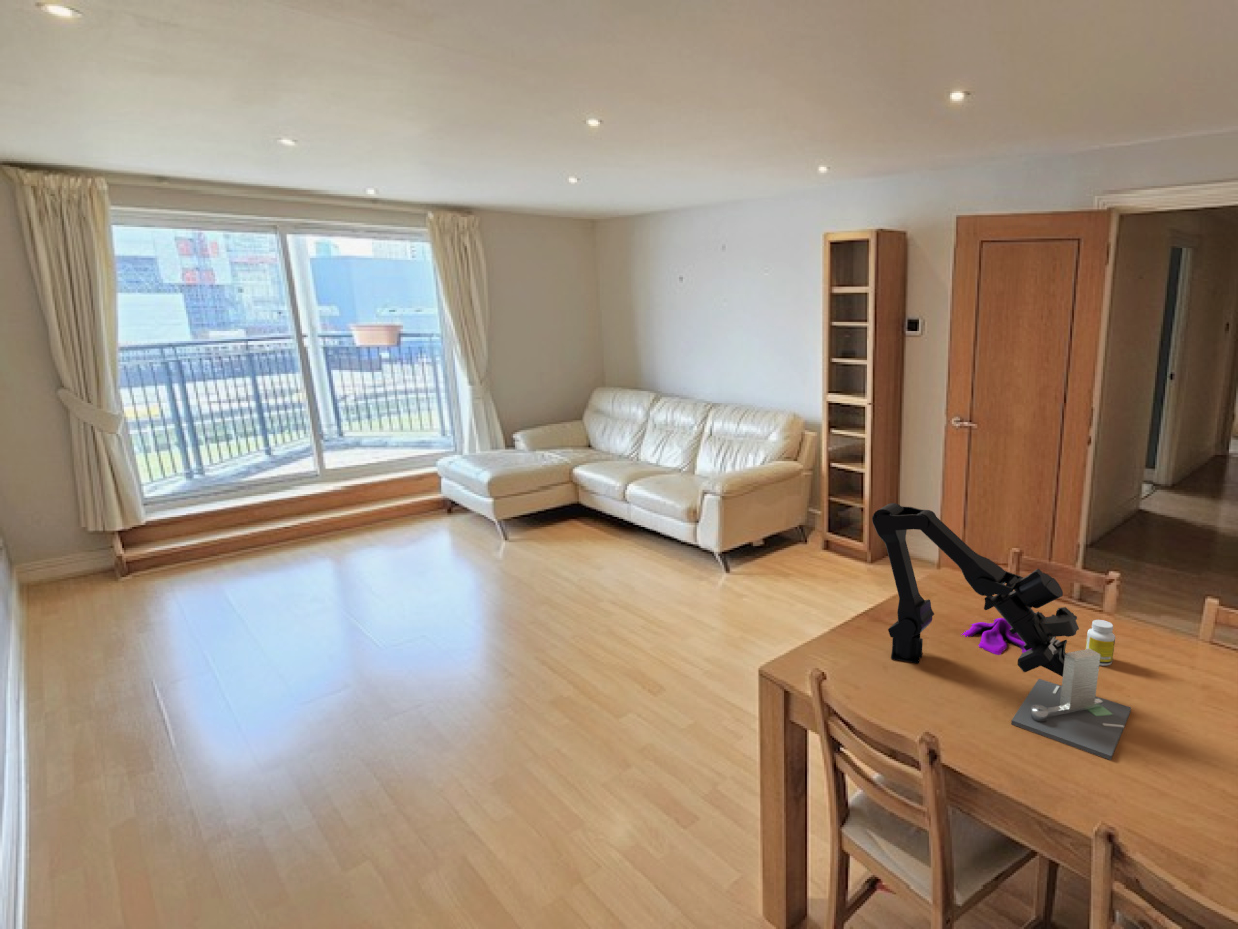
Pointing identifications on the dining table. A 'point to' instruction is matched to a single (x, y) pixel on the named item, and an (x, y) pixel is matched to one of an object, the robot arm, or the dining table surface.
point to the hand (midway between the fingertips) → (1074, 680)
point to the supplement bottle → (1101, 640)
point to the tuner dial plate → (1074, 721)
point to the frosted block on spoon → (1074, 686)
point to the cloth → (995, 636)
